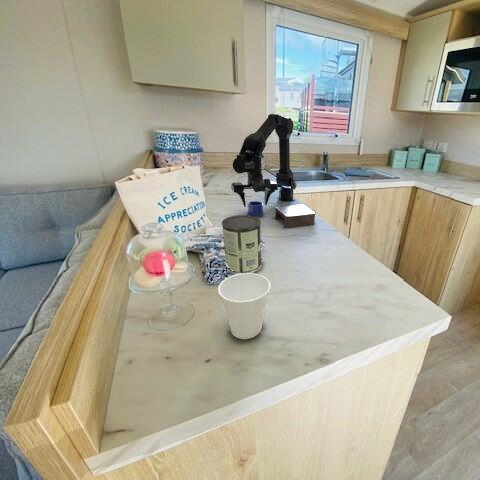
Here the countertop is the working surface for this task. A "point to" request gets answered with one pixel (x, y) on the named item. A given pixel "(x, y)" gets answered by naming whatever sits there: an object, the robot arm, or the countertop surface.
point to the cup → (244, 302)
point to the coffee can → (242, 243)
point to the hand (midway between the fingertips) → (255, 206)
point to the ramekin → (255, 208)
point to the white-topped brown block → (295, 215)
